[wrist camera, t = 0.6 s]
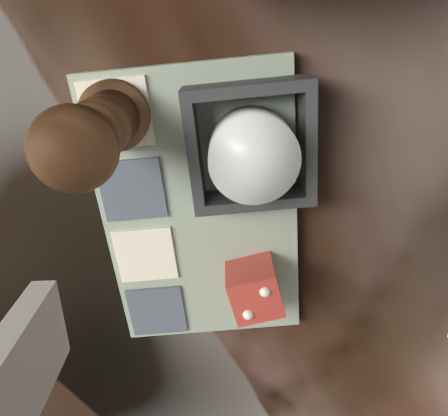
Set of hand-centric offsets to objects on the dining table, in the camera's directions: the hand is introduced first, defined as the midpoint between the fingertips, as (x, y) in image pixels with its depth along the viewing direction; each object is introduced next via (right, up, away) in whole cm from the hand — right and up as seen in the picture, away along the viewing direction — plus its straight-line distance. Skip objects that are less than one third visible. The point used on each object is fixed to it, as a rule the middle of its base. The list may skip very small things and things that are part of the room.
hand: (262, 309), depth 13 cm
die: (+1, -3, +22) cm, 22 cm away
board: (-3, +3, +21) cm, 21 cm away
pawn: (-9, +10, +16) cm, 21 cm away
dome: (+1, +8, +15) cm, 17 cm away
